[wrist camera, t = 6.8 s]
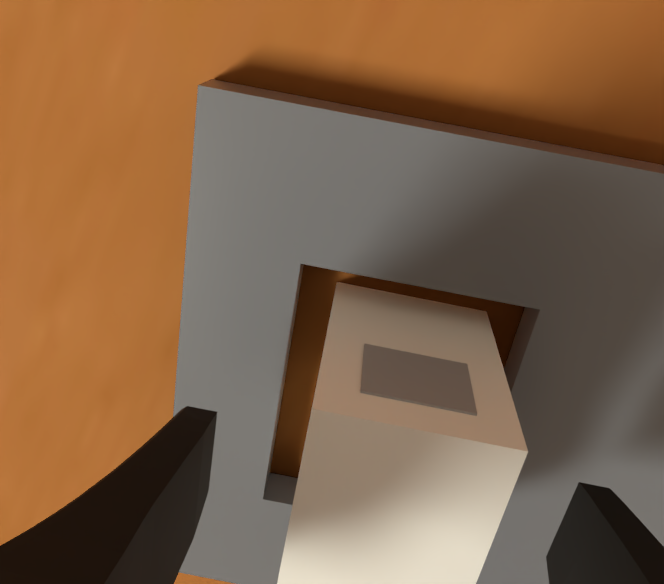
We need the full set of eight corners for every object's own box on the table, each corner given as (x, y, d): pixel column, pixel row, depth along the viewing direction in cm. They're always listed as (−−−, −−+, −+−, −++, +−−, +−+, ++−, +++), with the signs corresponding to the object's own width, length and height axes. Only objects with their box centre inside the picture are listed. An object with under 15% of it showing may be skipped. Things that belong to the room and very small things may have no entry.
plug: (412, 541, 18) (419, 727, 13) (290, 516, 18) (254, 694, 13) (487, 308, 15) (529, 449, 10) (337, 278, 15) (312, 406, 10)
